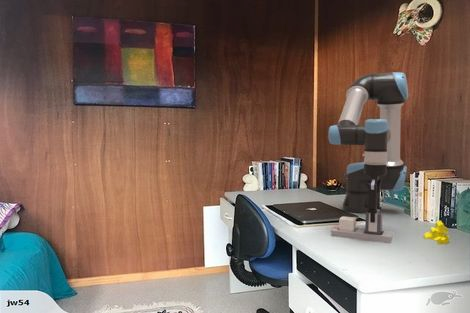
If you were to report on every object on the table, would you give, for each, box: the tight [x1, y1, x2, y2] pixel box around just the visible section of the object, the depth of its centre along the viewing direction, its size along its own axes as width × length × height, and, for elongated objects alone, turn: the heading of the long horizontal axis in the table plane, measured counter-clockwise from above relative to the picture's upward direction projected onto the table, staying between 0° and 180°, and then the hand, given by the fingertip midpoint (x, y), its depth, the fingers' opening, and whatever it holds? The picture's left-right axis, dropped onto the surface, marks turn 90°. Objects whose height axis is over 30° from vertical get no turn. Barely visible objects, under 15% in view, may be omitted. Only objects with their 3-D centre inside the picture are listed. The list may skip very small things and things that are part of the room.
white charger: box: [338, 216, 357, 232], centre depth 139 cm, size 5×5×6 cm
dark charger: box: [364, 211, 383, 235], centre depth 135 cm, size 5×5×9 cm
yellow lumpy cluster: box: [423, 220, 450, 245], centre depth 134 cm, size 6×8×8 cm
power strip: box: [330, 224, 394, 244], centre depth 137 cm, size 8×20×4 cm, turn 63°
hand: (373, 229), depth 135 cm, fingers closed on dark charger, 5 cm apart
